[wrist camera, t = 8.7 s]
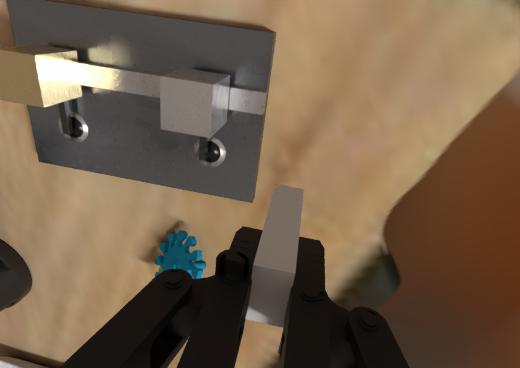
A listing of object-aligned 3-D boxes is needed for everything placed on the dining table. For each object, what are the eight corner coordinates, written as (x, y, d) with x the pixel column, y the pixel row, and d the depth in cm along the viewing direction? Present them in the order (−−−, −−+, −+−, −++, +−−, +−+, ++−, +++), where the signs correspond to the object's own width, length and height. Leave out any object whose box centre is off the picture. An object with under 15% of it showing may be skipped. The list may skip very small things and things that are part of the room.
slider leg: (184, 154, 40) (161, 175, 34) (185, 67, 35) (159, 76, 30) (224, 161, 39) (207, 184, 34) (230, 74, 35) (213, 84, 29)
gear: (187, 218, 45) (200, 292, 41) (219, 222, 49) (234, 289, 45) (143, 247, 51) (151, 315, 46) (175, 248, 55) (185, 309, 51)
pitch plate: (47, 157, 46) (-6, 183, 39) (16, -5, 37) (-61, -12, 30) (254, 197, 44) (240, 233, 36) (276, 32, 34) (263, 35, 27)
